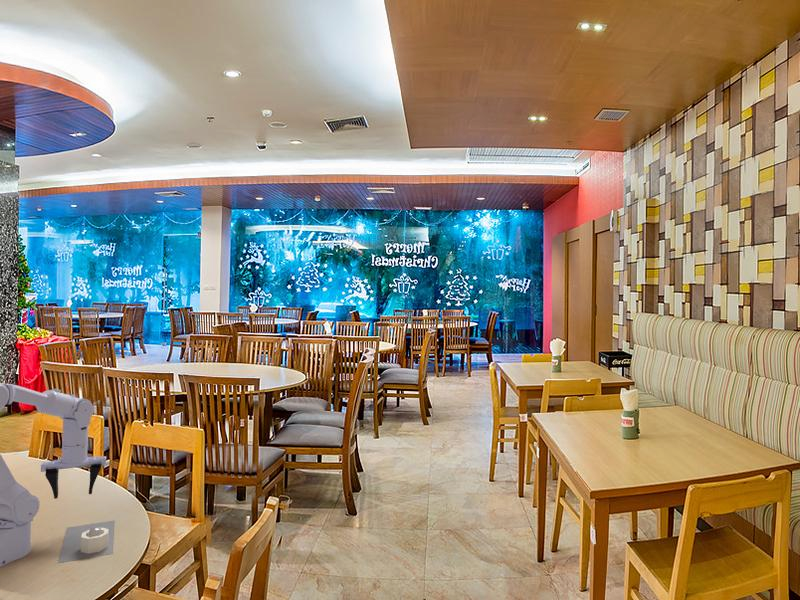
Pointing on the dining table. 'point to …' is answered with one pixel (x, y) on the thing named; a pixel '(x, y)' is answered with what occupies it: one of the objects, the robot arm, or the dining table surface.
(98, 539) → the cream ring
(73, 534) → the gray board
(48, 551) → the dining table surface
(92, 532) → the steel post
